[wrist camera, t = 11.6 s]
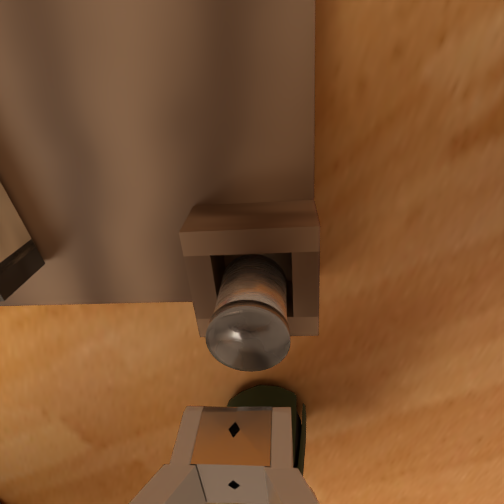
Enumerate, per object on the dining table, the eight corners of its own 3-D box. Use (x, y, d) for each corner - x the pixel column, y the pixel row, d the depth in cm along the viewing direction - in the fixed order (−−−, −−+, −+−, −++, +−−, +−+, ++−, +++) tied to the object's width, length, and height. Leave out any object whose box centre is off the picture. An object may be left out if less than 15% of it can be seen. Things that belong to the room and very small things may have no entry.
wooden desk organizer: (-44, 289, 24) (-114, 341, 20) (-326, -183, 14) (-612, -293, 9) (310, 279, 22) (318, 335, 18) (311, -304, 11) (331, -528, 7)
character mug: (339, 429, 29) (377, 670, 18) (267, 453, 31) (260, 680, 20) (264, 345, 25) (251, 588, 14) (188, 380, 27) (124, 612, 16)
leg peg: (225, 308, 18) (211, 371, 14) (216, 253, 16) (199, 308, 13) (289, 307, 17) (291, 371, 14) (286, 251, 16) (289, 307, 12)
